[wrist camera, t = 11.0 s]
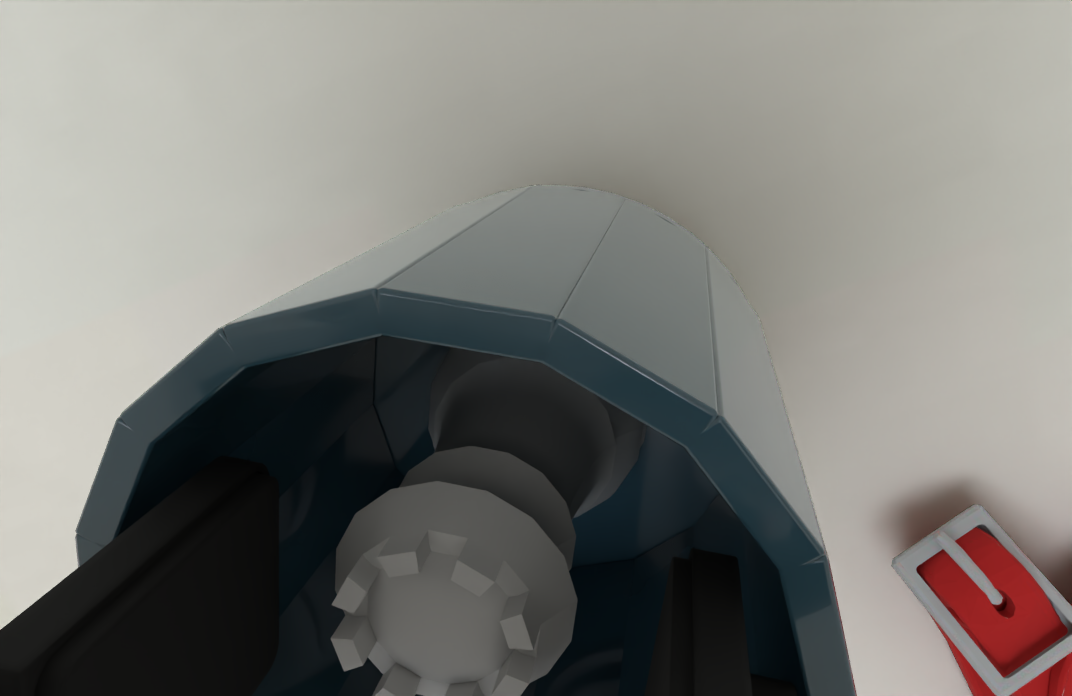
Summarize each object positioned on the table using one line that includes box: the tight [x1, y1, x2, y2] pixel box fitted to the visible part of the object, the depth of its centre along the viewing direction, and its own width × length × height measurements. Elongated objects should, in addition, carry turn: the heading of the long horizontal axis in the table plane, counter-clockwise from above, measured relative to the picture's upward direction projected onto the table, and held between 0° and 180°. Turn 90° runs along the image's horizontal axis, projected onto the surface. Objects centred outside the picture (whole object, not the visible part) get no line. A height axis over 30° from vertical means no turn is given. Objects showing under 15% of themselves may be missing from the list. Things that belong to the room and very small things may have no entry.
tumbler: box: [75, 185, 857, 696], centre depth 13 cm, size 9×9×9 cm
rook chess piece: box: [331, 348, 647, 696], centre depth 13 cm, size 4×4×8 cm
